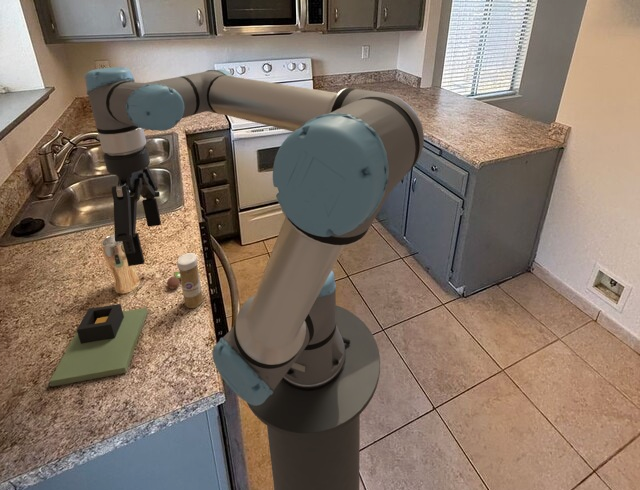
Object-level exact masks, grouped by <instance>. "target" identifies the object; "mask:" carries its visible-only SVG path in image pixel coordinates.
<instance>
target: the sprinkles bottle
mask: <svg viewBox="0 0 640 490" xmlns="http://www.w3.org/2000/svg"><path fill="white" fill-rule="evenodd" d="M176 265H177V269H178V272H180V277H181V280H180V283H181V290H182V294H183V299H184V306H185V307H186V308H188V309H193V308H197V307H199V306H200V305H201V304H202V303H203V302H204V296H203V291H202V284H201V278H200V277H201V276H200V272H199V268H198V257H197V255H196V253H194V252H187V253H183V254H182V255H180V256H178V258H177V260H176Z"/></svg>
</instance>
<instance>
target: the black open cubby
mask: <svg viewBox="0 0 640 490" xmlns="http://www.w3.org/2000/svg"><path fill="white" fill-rule="evenodd" d="M123 311H124V310H123V308H122V304H121V303H117V304H110V305H103V306H98V307H89V308H88V309H87V310H86V312H85V314H84V315H83V317H82V319H81V321H80V322H79V325H78V327H77V328H76V332H77V333H78V336H79V339H80V342H81V344H83V343H88V342H94V341H100V340H106V339H112V338H115V337H116V334H117V332H118V330H119V327H120V325H121V323H122V320H123V318H124V315H123ZM102 317H108V318H107V320H106V322H103V323H96V324H95V322H96V320H97V318H102Z"/></svg>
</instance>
